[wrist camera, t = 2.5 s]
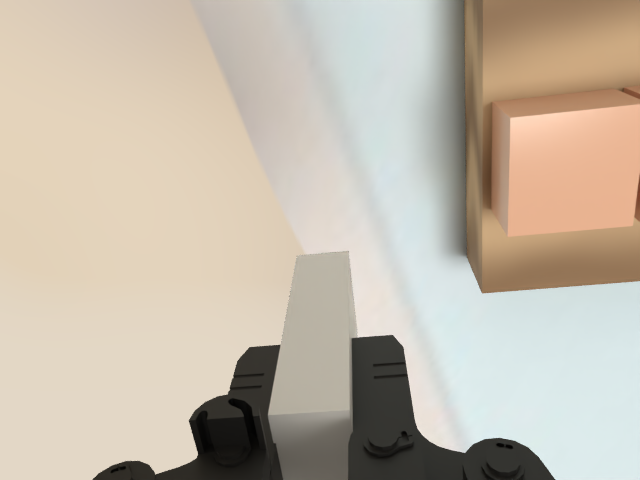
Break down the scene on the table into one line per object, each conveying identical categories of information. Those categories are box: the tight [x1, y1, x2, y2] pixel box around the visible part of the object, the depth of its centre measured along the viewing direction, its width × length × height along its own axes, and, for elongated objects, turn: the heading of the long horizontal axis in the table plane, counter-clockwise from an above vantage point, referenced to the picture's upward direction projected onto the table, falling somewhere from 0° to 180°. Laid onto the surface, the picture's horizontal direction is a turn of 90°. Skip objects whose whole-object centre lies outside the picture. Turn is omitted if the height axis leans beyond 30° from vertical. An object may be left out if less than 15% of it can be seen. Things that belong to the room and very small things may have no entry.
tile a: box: [491, 88, 640, 237], centre depth 23 cm, size 5×5×3 cm
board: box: [464, 0, 640, 293], centre depth 26 cm, size 14×11×4 cm
